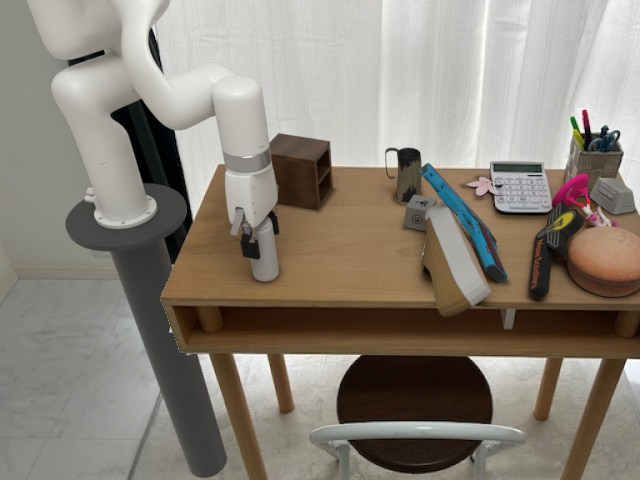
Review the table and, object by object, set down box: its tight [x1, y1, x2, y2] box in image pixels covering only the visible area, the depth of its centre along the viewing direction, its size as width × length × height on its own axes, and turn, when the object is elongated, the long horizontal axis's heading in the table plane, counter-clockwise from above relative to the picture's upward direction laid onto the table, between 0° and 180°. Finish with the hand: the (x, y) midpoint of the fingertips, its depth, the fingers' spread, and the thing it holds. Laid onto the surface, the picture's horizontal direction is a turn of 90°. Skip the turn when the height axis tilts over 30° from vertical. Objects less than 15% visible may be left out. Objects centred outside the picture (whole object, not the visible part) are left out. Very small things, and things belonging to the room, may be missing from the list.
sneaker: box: [420, 200, 492, 318], centre depth 115 cm, size 10×29×10 cm
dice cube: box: [404, 195, 438, 232], centre depth 128 cm, size 5×5×5 cm
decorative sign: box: [528, 201, 585, 300], centre depth 119 cm, size 27×2×10 cm
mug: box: [384, 147, 423, 206], centre depth 134 cm, size 8×6×12 cm
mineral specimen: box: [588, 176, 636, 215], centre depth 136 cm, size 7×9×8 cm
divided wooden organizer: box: [269, 132, 334, 211], centre depth 134 cm, size 12×9×12 cm
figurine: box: [551, 173, 618, 228], centre depth 129 cm, size 10×10×15 cm
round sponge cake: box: [566, 226, 640, 298], centre depth 116 cm, size 16×16×10 cm
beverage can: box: [244, 216, 280, 283], centre depth 113 cm, size 5×5×12 cm
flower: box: [466, 176, 501, 197], centre depth 141 cm, size 10×10×2 cm
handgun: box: [420, 162, 509, 283], centre depth 115 cm, size 23×3×15 cm
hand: (261, 244), depth 112 cm, fingers open, 7 cm apart
